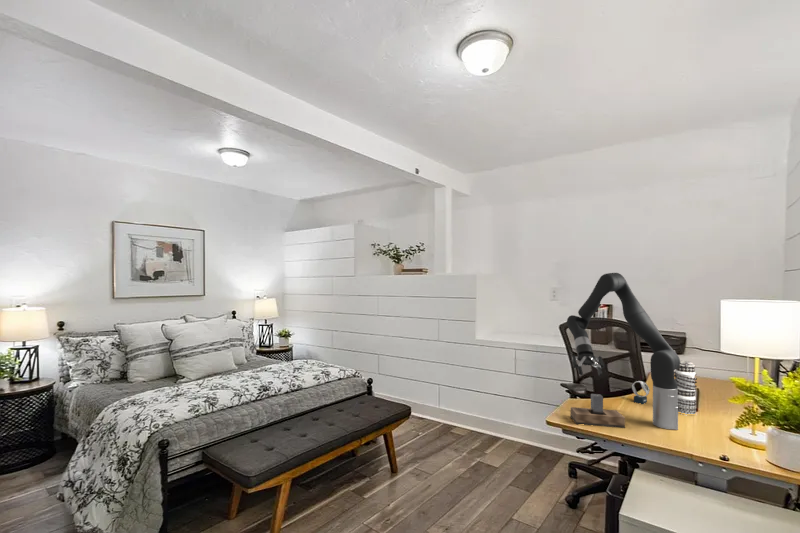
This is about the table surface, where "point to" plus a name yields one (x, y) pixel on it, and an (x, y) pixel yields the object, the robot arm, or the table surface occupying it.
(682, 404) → the model tower building
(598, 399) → the grey rectangular block
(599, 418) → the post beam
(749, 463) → the table surface
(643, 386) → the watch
